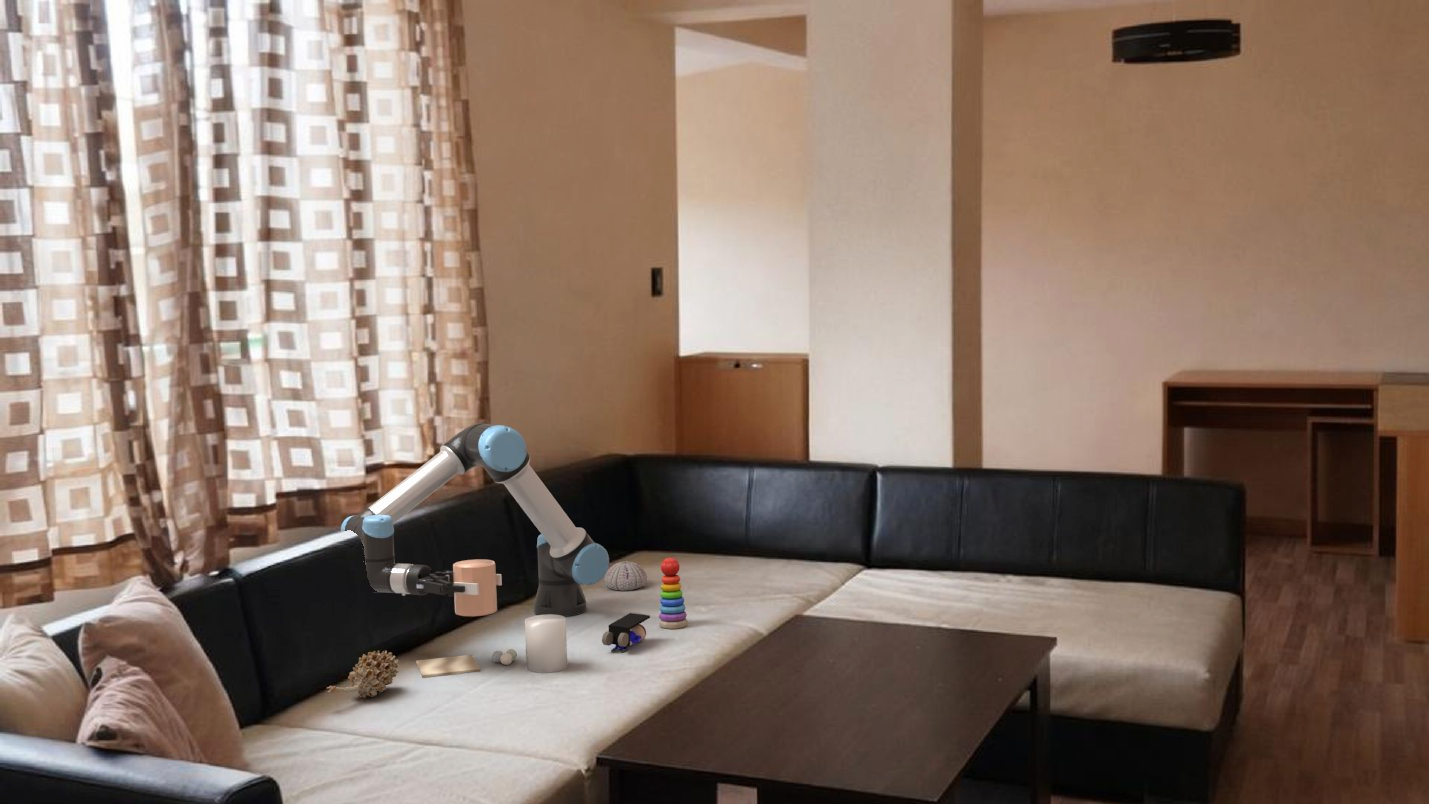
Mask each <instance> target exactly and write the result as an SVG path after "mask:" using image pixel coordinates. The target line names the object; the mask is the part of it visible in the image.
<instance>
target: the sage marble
mask: <svg viewBox="0 0 1429 804" xmlns="http://www.w3.org/2000/svg"><path fill="white" fill-rule="evenodd" d="M505 653H509V654H511V655H512V658H513V660H512V662H514V661H515V660H517V658H518V653H517V651H516V650H515V649H514V648H511V649H510V648H509V649H507V650H506V652H505Z"/></svg>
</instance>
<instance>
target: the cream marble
mask: <svg viewBox="0 0 1429 804" xmlns="http://www.w3.org/2000/svg"><path fill="white" fill-rule="evenodd" d="M500 660H501V662H500V663H501V664H503V666H509V665H510V664H512V662H513V661H512V660H513V658H512V655H511V654H509V653H506V652H504V653H503V654H502V656H501V658H500Z"/></svg>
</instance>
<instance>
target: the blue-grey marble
mask: <svg viewBox="0 0 1429 804" xmlns="http://www.w3.org/2000/svg"><path fill="white" fill-rule="evenodd" d="M502 654H504V653H503V652H502V651H501V650H495V651H493V653H492V654H491V660H492V661H493V662H494V663H496V664H500V663H501V660H500V658H501V656H502Z"/></svg>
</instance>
